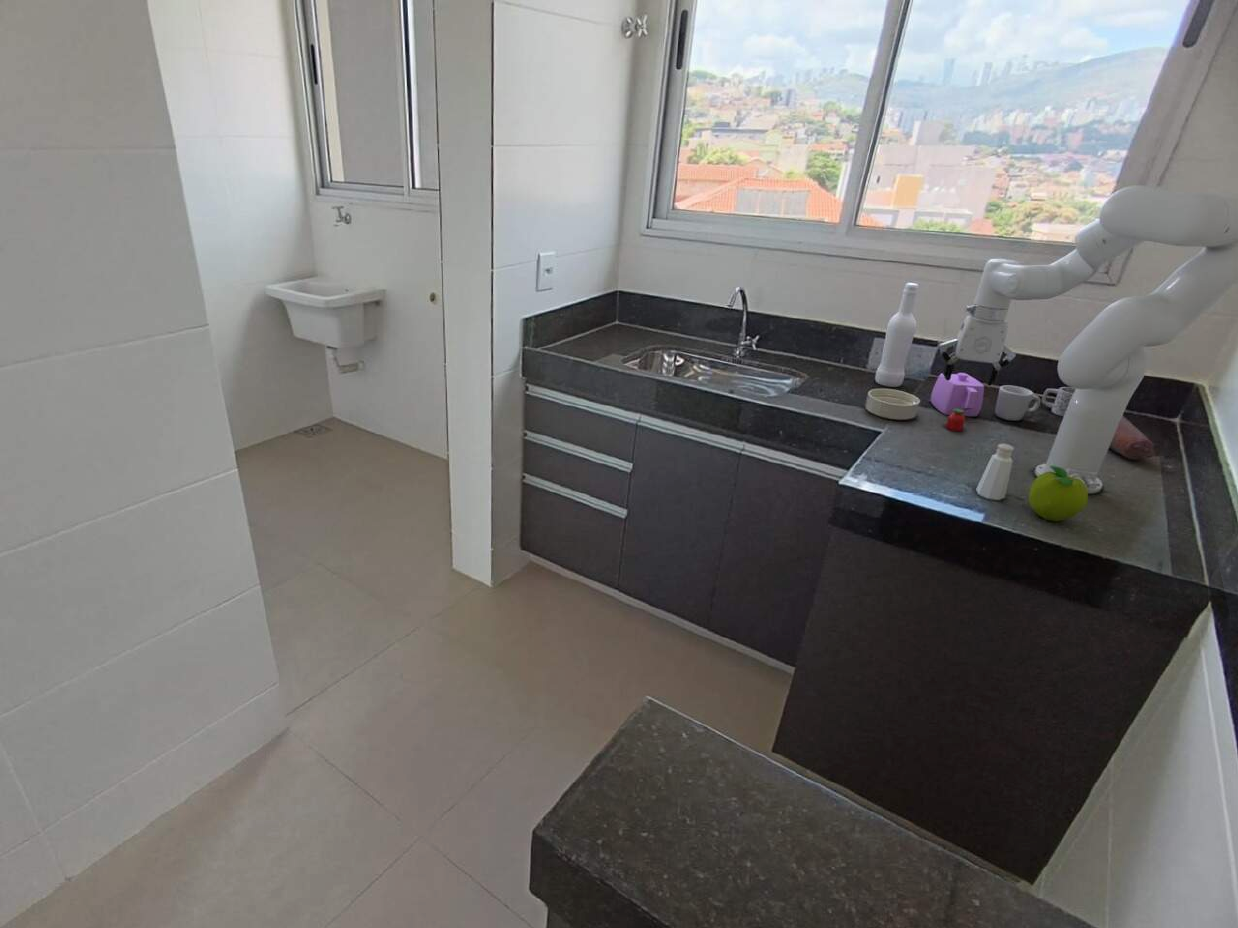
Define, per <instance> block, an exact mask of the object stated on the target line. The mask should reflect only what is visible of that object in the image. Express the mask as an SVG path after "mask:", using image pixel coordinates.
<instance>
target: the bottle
mask: <svg viewBox="0 0 1238 928" xmlns="http://www.w3.org/2000/svg"><path fill="white" fill-rule="evenodd" d="M918 289H919V284H918V283H915V282H907V283H906V284H905V285H904V289H903V291H902V297H901V301H900V305H899V308H898V311H897V312H896V313H895V314H894V315H893V316H892V317H891V318H890V319H889V320H888V323H887V326H886V332H885V338H884V343H883V349H882V354H881V361H880V364H879V366H878V367H877V369H876V372H875V377H874V379H875V383H877V384H879V385H881V386H883V387H889V388H897V387H900V386H902V385H903V382H904V379H905V375H906V372H905V366H906V363H907V359H908V356H909V353H910V351H911V347H912V344H913V340H914V337H915V334H916V332H917V321H916V318H915V317H914V314H913V311H914V307H915V302H916V297H917V295H918V292H919V291H918Z"/></svg>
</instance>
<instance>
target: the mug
mask: <svg viewBox="0 0 1238 928" xmlns="http://www.w3.org/2000/svg"><path fill="white" fill-rule="evenodd" d="M1075 390H1076V389H1075V388H1072V387H1069V386H1062V387H1059V388H1046V390H1044V391H1043V392H1044V393H1043V394H1042V398H1041V403H1042V404H1043V405H1045V406H1046V407H1048V408H1051V413H1053V414H1054V415H1058V416H1061V417H1062V418H1063V417H1064V415H1065V412H1066V410H1067V407H1068V405H1069V402H1070V400H1071V398H1072V396H1073V394H1074V392H1075ZM1051 393H1053V394H1056V397H1055V400H1054V402H1049V401H1048V400H1047V398H1048V395H1049V394H1051Z"/></svg>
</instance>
